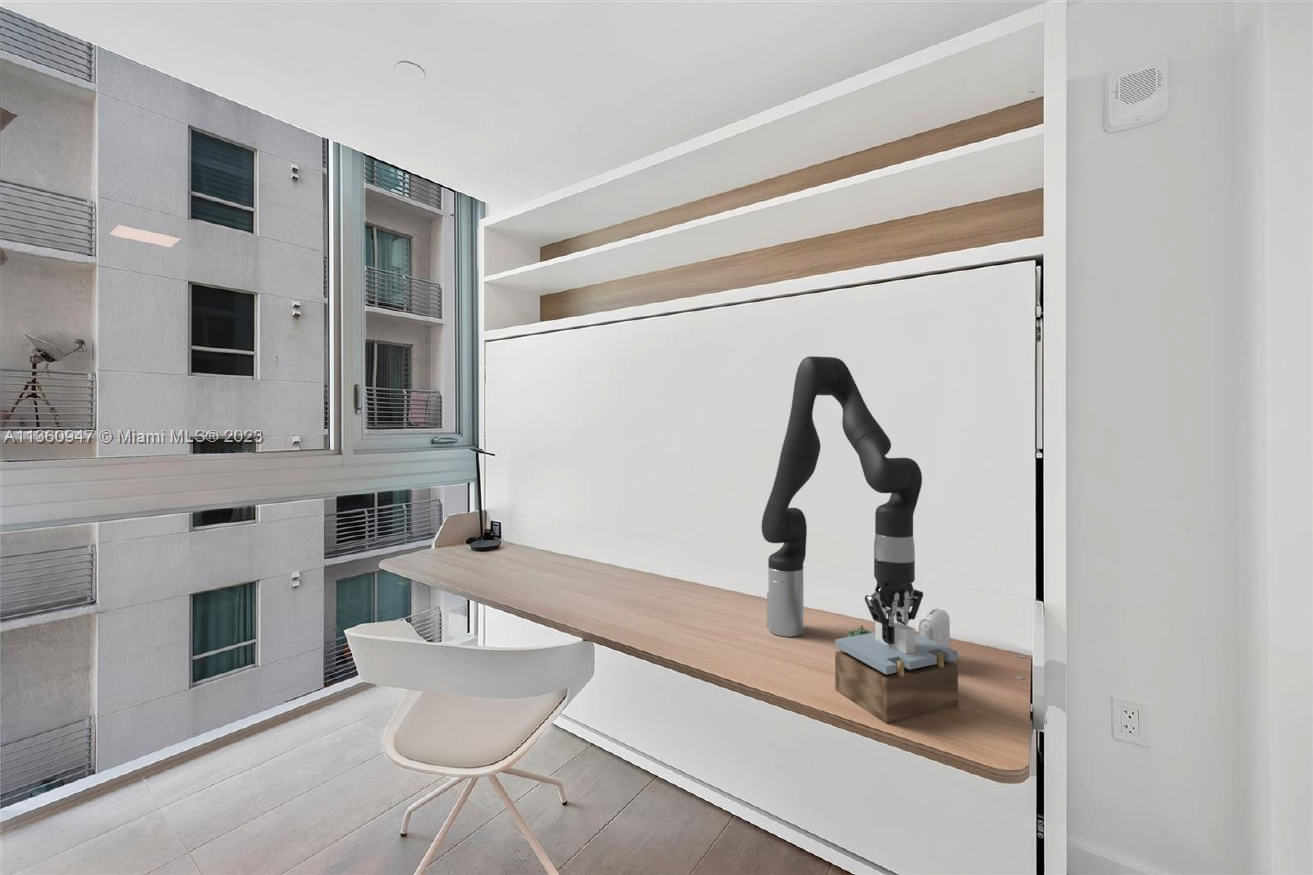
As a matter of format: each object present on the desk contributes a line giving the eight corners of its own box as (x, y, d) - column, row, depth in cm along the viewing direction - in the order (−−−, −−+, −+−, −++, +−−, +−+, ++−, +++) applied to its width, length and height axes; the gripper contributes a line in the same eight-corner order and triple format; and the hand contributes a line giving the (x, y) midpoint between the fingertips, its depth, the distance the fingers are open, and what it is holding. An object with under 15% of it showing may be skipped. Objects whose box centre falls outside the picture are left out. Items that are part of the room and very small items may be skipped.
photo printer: (936, 673, 119) (936, 617, 119) (916, 667, 122) (916, 613, 122) (952, 659, 126) (952, 607, 126) (933, 654, 129) (932, 603, 129)
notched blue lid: (835, 646, 111) (835, 617, 111) (901, 634, 118) (901, 607, 118) (886, 674, 98) (886, 642, 98) (957, 659, 105) (957, 628, 105)
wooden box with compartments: (835, 690, 111) (835, 639, 111) (901, 675, 118) (901, 627, 118) (886, 723, 98) (886, 666, 98) (958, 705, 105) (957, 652, 104)
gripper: (905, 550, 114) (905, 631, 114) (853, 555, 109) (853, 640, 109) (935, 557, 107) (935, 643, 107) (881, 564, 102) (881, 654, 102)
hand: (894, 641), depth 108 cm, fingers closed on notched blue lid, 2 cm apart
